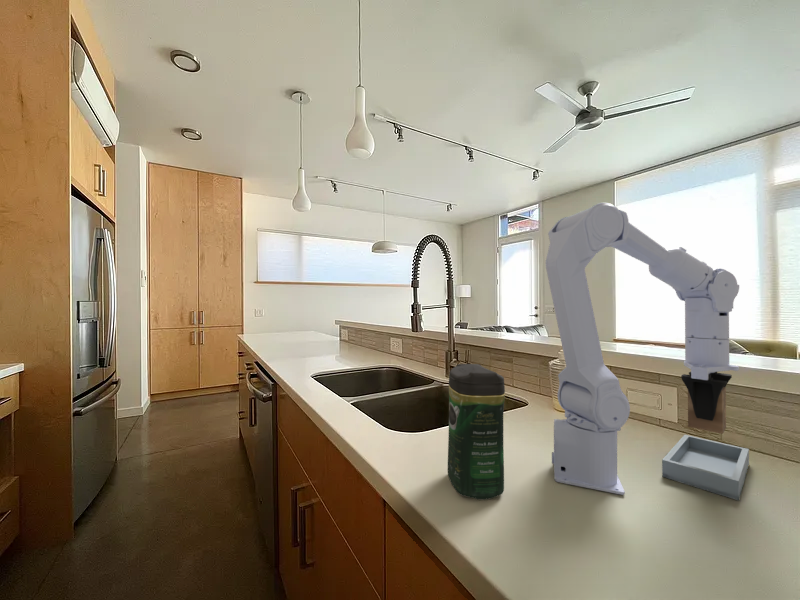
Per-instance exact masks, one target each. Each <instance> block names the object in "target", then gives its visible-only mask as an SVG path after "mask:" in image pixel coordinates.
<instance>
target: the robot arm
mask: <svg viewBox="0 0 800 600" xmlns="http://www.w3.org/2000/svg"><path fill="white" fill-rule="evenodd" d="M547 235H548V239H549V246H548V251H547V253H546V258H545V269H546V276H547V279H548V284H549V289H550V294H551V298H552V303H553V308H554V312H555V313H554V314H555V318H556V322H557V327H558V332H559V338H560V341H561V346H562V351H563V357H564V361H565V368H564V369H562V370H561V371H560V372H559V373H558V375H557V376H558V377H557V378H558V381H559V384H558V385H559V386H558V390H557V402H558V404H559V406H560V407H561V409H563V410H564V417H565V418H564V419H559V418H557V419H556V418H554V419H553V451H552V452H551V464H552V465H553V471H554V472H553V473H554V481H555V482H557V483H562V484H566V485H570V486H571V485H572V486H576V487H581V488H587V489H592V490H597V491H601V492H606V493H611V494H616V495H622V496H625V494H626V493H625V492H626V491H625V488H624V487H623V484H622V482H621V480H620V478H619V475H618V432H620V431H621V428H622V427H623V426H624V425H625V424H626V423H627V422H628V419H629V417H630V413H631V406H630V401H629V399H628V397H627V396H626V394H625V393H623V390H622V388H621V384H620V380H619V379H618V377H617V376H616V375H615V374H614V373H613V372H612V370H611V369H609V368H608V367H607V366H606V365H605V363H604V362H605V361H604V356H603V352H602V348H601V342H600V337H599V333H598V328H597V327H598V326H597V323H596V318H595V313H594V309H593V303H592V300H591V293H590V290H589V289H590V288H589V285H588V284H589V283H588V279H587V274H586V267H587V266H588V265H589V264H590V262H591V261H592V259H593V258H594V257H595V256H596V254H598V253H599V252H600V251H602V250H604V249H606V248H614V249H616V250H617V251H619V252H622V253H624V254H625V255H628V256H630V257H631V258H634V259H635V260H638V261H640V262H641V263H644V264H646V265H648V272H649V274H650V275H651V276H653V277H655V278H656V279H658V280H660V281H662V282H663V283H664V284H667V285H668V286H669V287H671V288H672V289H673V290H674V291H675V293H676V296H677V297H678V299H679V300H680V301H684V326H685V327H684V336H685V337H684V346H685V347H684V348H685V349H684V353H685V354H684V355H685V356H684V357H685V358H684V361H683V366H684V367H686V368H688V369H689V370H690V371H689V372H688V374H685V373H683V374H681V376H680V379H681V381H682V382H683V384H684V385H685V388H686V389H687V392H688V391H689V394H690V397H691V400H692V404H693V408H694V412H695V415H696V418H700V419H705V420H710V421H713V419H714V416H715V413H716V408H717V402H718V398H719V395H720V393H721V391H722V389H723V387H727V385H728V384H729V382H730V380H731V379H732V378H733V377H732V374H730V373H723V372H730V371H735V372H736V371H737V372H738V371H740V365H736V364H730V312H732V311H733V309H734V301H735V300H736V298H737V296H738V293H739V291H740V284H738V281H737V278H736V277H735V275H734V274H733V273H732V272H731V271H728V270H726V269H724V268H713V267H711V266H709V265H708V264H707V263H706V262H705V261H701V260H699V259H698V258H696V257H694V256H692V254H689V253H688V252H687V249H686V248H684V247H681V246H680V247H677V246H676V247H675V246H671V247H667V248H665V247H663V246H662V245H661V244H659V243H658V241H657V242H656V240H654V239H653V238H651V237H649V235H647V234H646V233H645V232H643V231H641V230H640V229H639V228H638V227H636V226H634V225H633V224H632V223H630V222H629V217H628V213H627V212H626V211H623V210H621V209H619V208H618V207H617V206H616V205H615V204H612V203H610V202H605V201H604V202H598V203H596V204H594V205H592V206H590V207H589V208H586V209H584V210H581V211H578V212H577V213H574V214H572V215H569V216H566V217H565V216H564V217H562V218H560V219H559V220H557V222H555V224H554V225H553V226H552V228H551V229H550V230H549V231H548V232H547Z"/></svg>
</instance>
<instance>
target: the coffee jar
mask: <svg viewBox="0 0 800 600" xmlns="http://www.w3.org/2000/svg"><path fill="white" fill-rule="evenodd" d="M504 378H505V377H504V376H503V375H501V374H498V372H496V371H493V370H490V369H489V368H485V367H484V366H483V365H481V364H478V363H458V364H457V365H456V366H454V367H453V368H451V369H450V371H449V375H448V400H449V401H448V438H447V439H448V442H447V445H448V447H447V476H448V479H449V481H450V483H451V485H452V487H453V488H454V489H455V491H456V492H457V493H458V494H459V496H462V497H468V498H472V499H475V500H484V501H485V500H492V499H493V498H496V497H499V496H501V495H503V493H504V491H505V465H504V464H505V463H504V462H505V461H504V459H505V458H504V455H505V454H504V408H505V399H506V398H505V397H506V391H505V389H506V387H505V379H504Z"/></svg>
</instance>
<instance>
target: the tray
mask: <svg viewBox="0 0 800 600" xmlns="http://www.w3.org/2000/svg"><path fill="white" fill-rule="evenodd" d="M661 460H662V461H661V470H662V472H661V476H662V478H666V479H668V480H672V481H674V482H679V483H681V484H684V485H687V486H690V487H694V488H698V489H699V490H703V491H707V492H710V493H713V494H717V495H720V496H722V497H725V498H729V499H732V500H736V501H740V498H741V494H742V491H743V487H744V485H745V480H746V477H747V474H746V473H748V470H747V469H749V467H748V465H749V466H750V448H747V447H741V446H738V445H737V446H736V445H733V444H729V443H723V442H720V441H716V440H711V439H705V438H702V437H698V436H693V435H688V434H683V436H682V437H681V438H680V439H679V440H678V441H677V442H676V443H675V445H674V446H673V447H672V448H671V449H670V450H669V452H667V454H666V455H665V456H664V457H663V458H662V459H661Z"/></svg>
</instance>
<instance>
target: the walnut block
mask: <svg viewBox="0 0 800 600" xmlns="http://www.w3.org/2000/svg"><path fill="white" fill-rule="evenodd" d="M726 387H727V386H726ZM726 387H723V389H722V391H721V393H720V395H719V398H718V402H717V408H716V413H715V416H714V419H713V421H710V420H705V419H700V418H696V415H695V412H694V408H693V404H692V400H691V397H690V394H689V391H688V390H687V427H689V428H694V429H698V430H703V431H708V432H712V433H717V434H721V435H724V432H725V430H726V429H727V388H726Z"/></svg>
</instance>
